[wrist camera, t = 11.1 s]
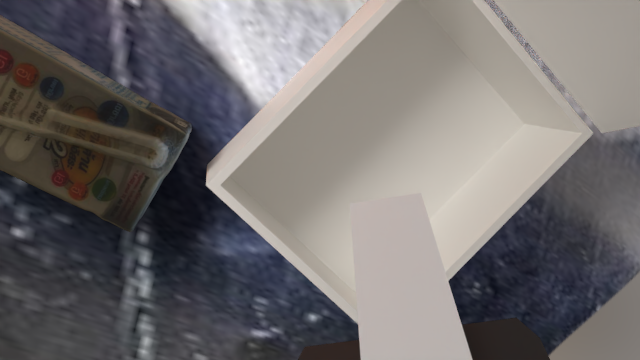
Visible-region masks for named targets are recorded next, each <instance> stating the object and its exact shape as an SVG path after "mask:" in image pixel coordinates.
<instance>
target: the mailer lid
mask: <svg viewBox="0 0 640 360" xmlns="http://www.w3.org/2000/svg"><path fill="white" fill-rule="evenodd" d="M494 2H495V3H496V4H497V5H498V7H499V8H500V9H501V10H502V12H503V13H504V14H505V15H506V16H507V18H508V19H509V20H510V21H511V23H512V24H513V25H514V26H515V27H516V29H517V30H518V31H519V32H520V34H521V35H522V36H523V37H524V39H525V40H526V41H527V42H528V43H529V45H530V46H531V47H532V48H533V50H534V51H535V52H536V53H537V55H538V56H539V57H540V58H541V59H542V61H543V62H544V63H545V64H546V66H547V67H548V68H549V69H550V70H551V72H552V73H553V74H554V75H555V77H556V78H557V79H558V80H559V82H560V83H561V84H562V85H563V86H564V88H565V89H566V90H567V91H568V93H569V94H570V95H571V96H572V97H573V99H574V100H575V101H576V102H577V104H578V105H579V106H580V107H581V109H582V110H583V111H584V112H585V113H586V115H587V116H588V117H589V118H590V120H591V121H592V122H593V123H594V124H595V126H596V127H597V128H598V129H599V131H600V132H601V133H608V132H613V131H618V130H623V129H628V128H633V127H638V126H640V0H494Z"/></svg>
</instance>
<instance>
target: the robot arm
mask: <svg viewBox="0 0 640 360" xmlns="http://www.w3.org/2000/svg"><path fill="white" fill-rule="evenodd" d="M350 213H351V227H352V242H353V256H354V270H355V285H356V299H357V314H358V328H359V340H355V341H347V342H340V343H332V344H324V345H316V346H309V347H305V348H304V350H303V351H302V353H301V355H300V357H299V358H298V360H550V359H549V357H548V354H547V352H546V350H545V348H544V346H543V344H542V342H541V340H540V338H539V337H538V336H537V335H536V334H535V333H533V332H532V331H531V330H530V329H529V328H528V327H526V326H525V325H524V324H523V323H522V322H521V321H520V320H518V319H517V318H510V319H503V320H495V321H487V322H479V323H472V324H464V325H462V324H461V321H460V318H459V314H458V311H457V308H456V305H455V301H454V298H453V295H452V292H451V289H450V285H449V282H448V279H447V276H446V272H445V269H444V266H443V263H442V259H441V256H440V253H439V250H438V247H437V243H436V240H435V237H434V234H433V230H432V227H431V224H430V221H429V218H428V214H427V211H426V208H425V205H424V201H423V198H422V195H421V193H418V194H411V195H404V196H398V197H391V198H384V199H378V200H371V201H364V202H358V203H351V204H350Z"/></svg>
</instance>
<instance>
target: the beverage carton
mask: <svg viewBox="0 0 640 360" xmlns="http://www.w3.org/2000/svg"><path fill="white" fill-rule="evenodd" d="M191 129H192V128H191V124H190V123H189V122H187V121H185V120H183V119H181V118H179V117H178V116H176V115H174V114H173V113H171V112H169V111H167V110H165V109H163V108H161V107H159V106H157V105H156V104H154V103H152V102H150V101H148V100H147V99H145V98H143V97H141V96H140V95H138V94H136V93H135V92H133V91H131V90H129V89H128V88H126V87H124V86H122V85H121V84H119V83H117V82H115V81H113V80H112V79H110V78H108V77H107V76H105V75H103V74H102V73H100V72H98V71H96V70H95V69H93V68H91V67H89V66H88V65H86V64H84V63H83V62H81V61H79V60H77V59H76V58H74V57H72V56H71V55H69V54H67V53H66V52H64V51H62V50H60V49H59V48H57V47H55V46H53V45H52V44H50V43H48V42H46V41H45V40H43V39H41V38H39V37H38V36H36V35H34V34H32V33H31V32H29V31H27V30H25V29H24V28H22V27H20V26H18V25H17V24H15V23H13V22H11V21H9V20H8V19H6V18H4V17H2V16H0V170H2V171H4V172H6V173H8V174H10V175H12V176H14V177H16V178H18V179H21V180H23V181H25V182H27V183H29V184H31V185H33V186H35V187H37V188H39V189H41V190H43V191H45V192H47V193H49V194H52V195H54V196H56V197H58V198H60V199H62V200H64V201H66V202H69V203H71V204H73V205H75V206H77V207H79V208H81V209H83V210H87V211H91V212H93V213H94V214H96V215H97V216H98V217H100V218H101V219H103V220H105V221H108V222H110V223H112V224H114V225H116V226H118V227H120V228H121V229H124V230H126V231H129V232H132V231H133V230H134V228H135V226H136V225H137V223H138V221H139V220H140V219H141V217H142V216H143V214H144V212H145V210H146V209H147V207H148V205H149V204H150V202H151V201H152V199H153V197H154V196H155V194H156V192H157V190H158V189H159V187H160V185H161V183H162V181H163V179H164V178H165V177H166V175H167V174H168V173H169V172H170V170H171V169H172V167H173V165H174V163H175V162H176V160H177V159H178V157H179V155H180V153H181V151H182V149H183V147H184V145H185V144H186V142H187V140H188V137H189V134H190V132H191Z"/></svg>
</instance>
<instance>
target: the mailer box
mask: <svg viewBox="0 0 640 360" xmlns="http://www.w3.org/2000/svg"><path fill="white" fill-rule="evenodd" d="M592 134H593V132H592V131H591V130H590V128H589V127H588V126H587V125H586V124H585V122H584V121H583V120H582V119H581V117H580V116H579V115H578V114H577V113H576V111H575V110H574V109H573V108H572V106H571V105H570V104H569V103H568V102H567V100H566V99H565V98H564V97H563V96H562V94H561V93H560V92H559V91H558V89H557V88H556V87H555V86H554V85H553V83H552V82H551V81H550V80H549V78H548V77H547V76H546V75H545V74H544V72H543V71H542V70H541V69H540V67H539V66H538V65H537V64H536V63H535V61H534V60H533V59H532V58H531V56H530V55H529V54H528V53H527V52H526V50H525V49H524V48H523V47H522V45H521V44H520V43H519V42H518V41H517V39H516V38H515V37H514V36H513V35H512V33H511V32H510V31H509V30H508V28H507V27H506V26H505V25H504V24H503V22H502V21H501V20H500V19H499V17H498V16H497V15H496V14H495V13H494V11H493V10H492V9H491V8H490V6H489V5H488V4H487V3H486V2H485V0H368V1H367V2H366V3H365V4H364V5H363V6H362V7H361V8H360V9H359V10H358V11H357V12H356V14H355V15H354V16H353V17H352V18H351V19H350V20H349V21H348V22H347V23H346V24H345V25H344V26H343V27H342V28H341V29H340V30H339V31H338V32H337V33H336V34H335V35H334V36H333V37H332V38H331V39H330V40H329V41H328V42H327V43H326V44H325V45H324V46H323V47H322V48H321V49H320V50H319V51H318V52H317V53H316V54H315V55H314V56H313V57H312V58H311V59H310V60H309V61H308V62H307V63H306V64H305V66H304V67H303V68H302V69H301V70H300V71H299V72H298V73H297V74H296V75H295V76H294V77H293V78H292V79H291V80H290V81H289V82H288V83H287V84H286V85H285V86H284V87H283V88H282V89H281V90H280V91H279V92H278V93H277V94H276V95H275V96H274V97H273V98H272V99H271V100H270V101H269V102H268V103H267V104H266V105H265V106H264V107H263V108H262V109H261V110H260V111H259V112H258V113H257V114H256V115H255V116H254V118H253V119H252V120H251V121H250V122H249V123H248V124H247V125H246V126H245V127H244V128H243V129H242V130H241V131H240V132H239V133H238V134H237V135H236V136H235V137H234V138H233V139H232V140H231V141H230V142H229V143H228V144H227V145H226V146H225V147H224V148H223V149H222V150H221V151H220V152H219V153H218V154H217V155H216V156H215V157H214V158H213V159H212V160H211V161H210V162H209V163H208V164H207V175H206V186H207V187H208V188H209V189H210V190H211V191H212V192H214V193H215V194H216V195H217V196H218V197H219V198H220V199H221V200H222V201H223V202H225V203H226V204H227V205H228V206H229V207H230V208H231V209H232V210H233V211H234V212H236V213H237V214H238V215H239V216H240V217H241V218H242V219H243V220H244V221H245V222H246V223H248V224H249V225H250V226H251V227H252V228H253V229H254V230H255V231H256V232H257V233H259V234H260V235H261V236H262V237H263V238H264V239H265V240H266V241H267V242H268V243H270V244H271V245H272V246H273V247H274V248H275V249H276V250H277V251H278V252H279V253H281V254H282V255H283V256H284V257H285V258H286V259H287V260H288V261H289V262H290V263H292V264H293V265H294V266H295V267H296V268H297V269H298V270H299V271H300V272H301V273H302V274H304V275H305V276H306V277H307V278H308V279H309V280H310V281H311V282H312V283H313V284H315V285H316V286H317V287H318V288H319V289H320V290H321V291H322V292H323V293H324V294H326V295H327V296H328V297H329V298H330V299H331V300H332V301H333V302H334V303H335V304H337V305H338V306H339V307H340V308H341V309H342V310H343V311H344V312H345V313H346V314H347V315H349V316H350V317H351V318H352V319H353V320H354V321H355V322H356V323H357V324H358V314H357V299H356V285H355V270H354V256H353V242H352V227H351V213H350V204H351V203H358V202H364V201H371V200H378V199H384V198H391V197H398V196H404V195H411V194H418V193H421V195H422V198H423V201H424V205H425V208H426V211H427V214H428V218H429V221H430V224H431V227H432V230H433V234H434V237H435V240H436V243H437V247H438V250H439V253H440V256H441V259H442V263H443V266H444V269H445V272H446V276H447V279H448V281H449V280H450V279H451V278H452V277H453V276H454V275H455V274H456V273H457V272H458V271H459V270H460V269H461V268H462V267H463V265H464V264H465V263H466V262H467V261H468V260H469V259H470V258H471V257H472V256H473V255H474V254H475V253H476V252H477V251H478V250H479V249H480V248H481V247H482V246H483V245H484V244H485V243H486V242H487V241H488V240H489V239H490V238H491V237H492V236H493V235H494V234H495V233H496V232H497V231H498V230H499V229H500V228H501V227H502V226H503V225H504V224H505V223H506V222H507V221H508V220H509V219H510V218H511V217H512V216H513V215H514V214H515V213H516V212H517V211H518V210H519V209H520V208H521V207H522V206H523V205H524V204H525V203H526V201H527V200H528V199H529V198H530V197H531V196H532V195H533V194H534V193H535V192H536V191H537V190H538V189H539V188H540V187H541V186H542V185H543V184H544V183H545V182H546V181H547V180H548V179H549V178H550V177H551V176H552V175H553V174H554V173H555V172H556V171H557V170H558V169H559V168H560V167H561V166H562V165H563V164H564V163H565V162H566V161H567V160H568V159H569V158H570V157H571V156H572V155H573V154H574V153H575V152H576V151H577V150H578V149H579V148H580V147H581V146H582V145H583V144H584V143H585V142H586V141H587V140H588V139H589V137H590V136H591V135H592Z"/></svg>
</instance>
